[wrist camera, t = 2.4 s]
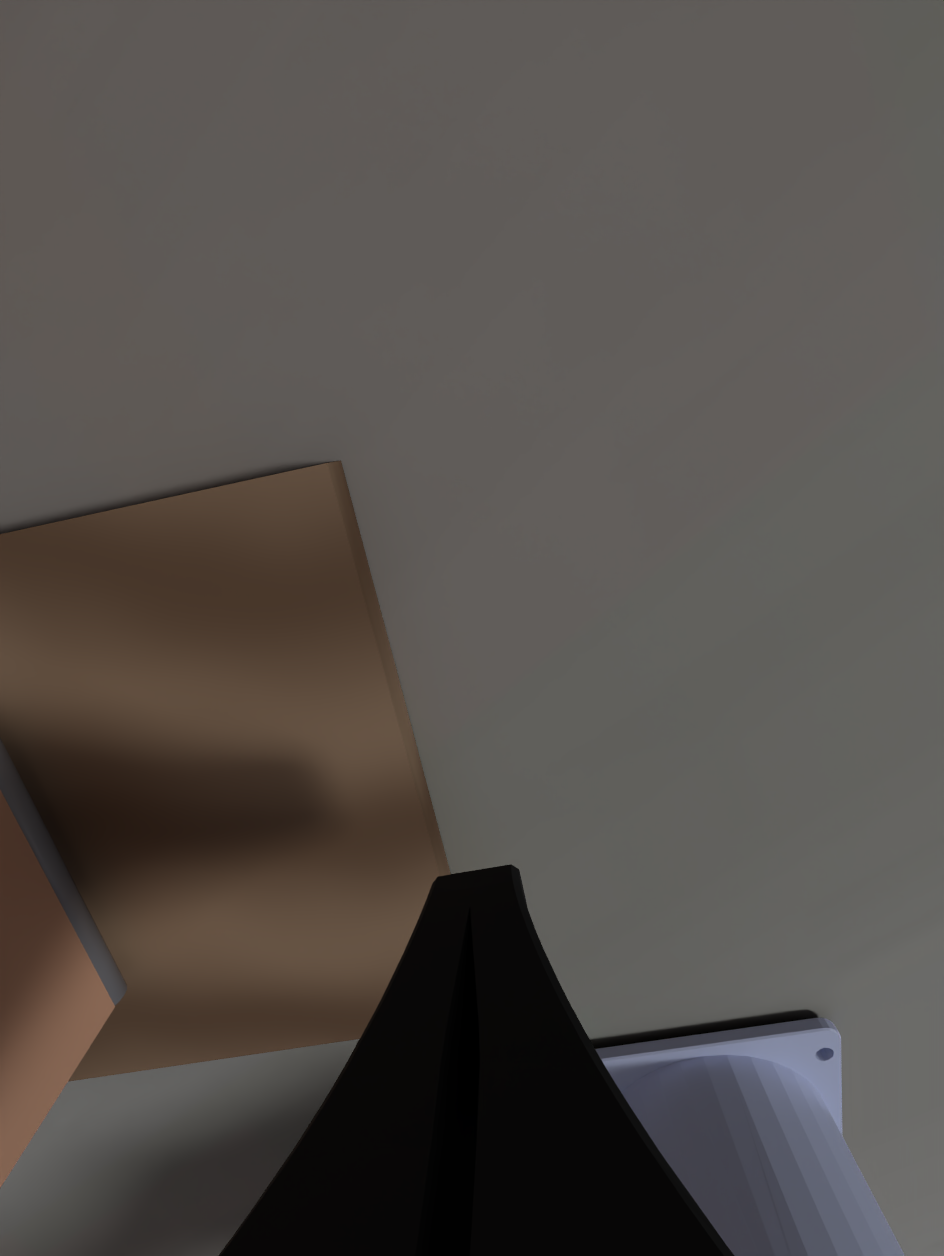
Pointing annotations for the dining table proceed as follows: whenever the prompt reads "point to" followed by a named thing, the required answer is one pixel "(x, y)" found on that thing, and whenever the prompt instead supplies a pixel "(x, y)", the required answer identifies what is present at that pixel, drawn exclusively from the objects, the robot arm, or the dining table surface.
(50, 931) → the tile
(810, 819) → the dining table surface
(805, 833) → the dining table surface
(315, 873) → the walnut board
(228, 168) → the dining table surface
